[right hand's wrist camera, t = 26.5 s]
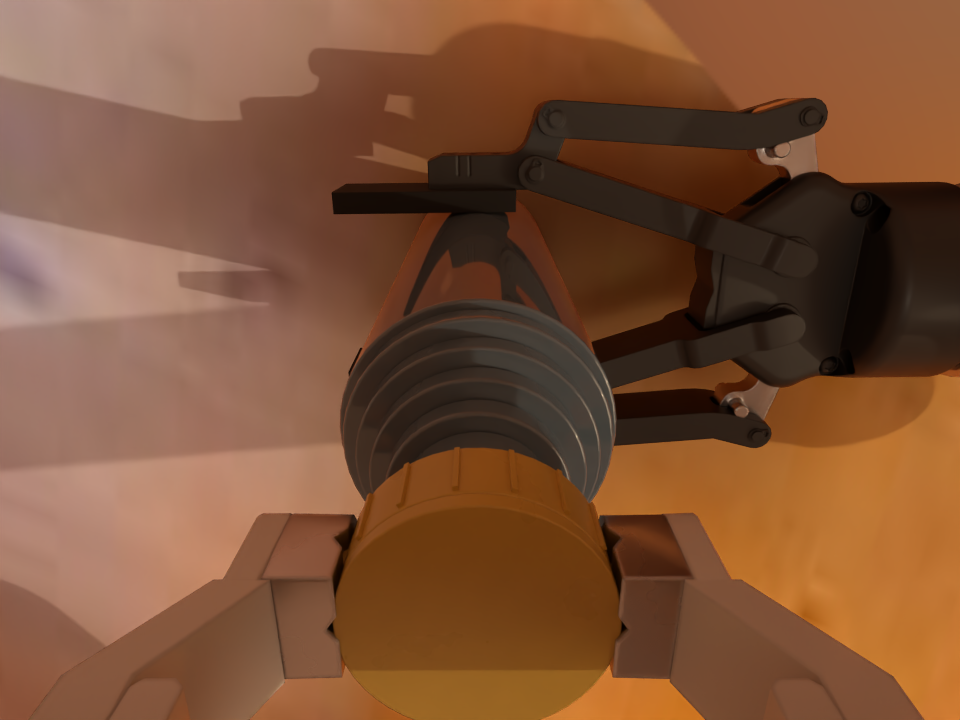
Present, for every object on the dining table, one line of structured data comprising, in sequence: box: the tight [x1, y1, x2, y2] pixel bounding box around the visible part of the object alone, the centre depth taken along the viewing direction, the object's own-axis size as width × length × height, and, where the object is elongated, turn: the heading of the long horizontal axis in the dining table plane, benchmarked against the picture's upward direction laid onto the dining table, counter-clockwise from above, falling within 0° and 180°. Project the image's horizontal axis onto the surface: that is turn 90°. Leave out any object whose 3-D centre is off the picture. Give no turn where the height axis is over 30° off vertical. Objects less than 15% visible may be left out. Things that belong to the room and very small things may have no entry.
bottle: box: [340, 199, 617, 503], centre depth 20 cm, size 6×6×23 cm
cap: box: [333, 447, 622, 720], centre depth 10 cm, size 4×4×2 cm
